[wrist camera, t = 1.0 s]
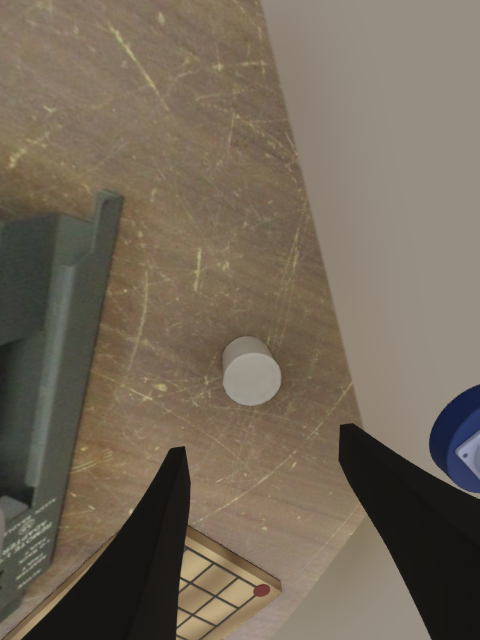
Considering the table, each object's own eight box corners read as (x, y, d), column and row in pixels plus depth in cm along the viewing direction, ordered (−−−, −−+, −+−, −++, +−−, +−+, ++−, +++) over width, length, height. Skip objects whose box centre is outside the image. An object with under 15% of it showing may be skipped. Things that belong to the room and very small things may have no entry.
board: (280, 581, 28) (282, 593, 27) (137, 695, 31) (134, 710, 30) (149, 502, 24) (146, 514, 23) (-5, 645, 27) (-13, 661, 26)
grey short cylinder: (281, 358, 21) (293, 378, 18) (246, 390, 21) (252, 416, 18) (246, 325, 20) (253, 341, 17) (211, 361, 20) (210, 382, 17)
